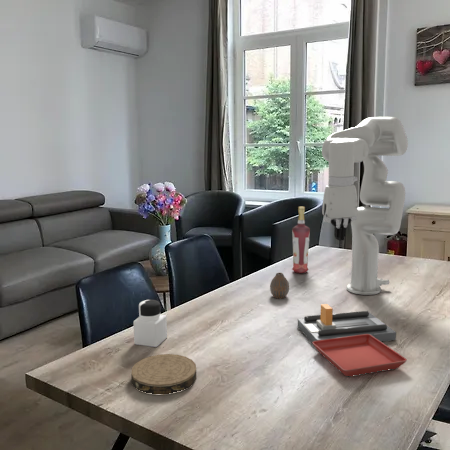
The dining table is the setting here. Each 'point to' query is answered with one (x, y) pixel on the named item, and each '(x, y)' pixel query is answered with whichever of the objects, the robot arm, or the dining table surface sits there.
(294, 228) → the liquor
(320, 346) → the plant saucer
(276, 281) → the vase
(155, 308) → the medicine bottle
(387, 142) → the robot arm
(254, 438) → the dining table surface
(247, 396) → the dining table surface
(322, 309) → the breaker lever
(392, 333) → the switch panel
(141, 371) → the round wood slice
